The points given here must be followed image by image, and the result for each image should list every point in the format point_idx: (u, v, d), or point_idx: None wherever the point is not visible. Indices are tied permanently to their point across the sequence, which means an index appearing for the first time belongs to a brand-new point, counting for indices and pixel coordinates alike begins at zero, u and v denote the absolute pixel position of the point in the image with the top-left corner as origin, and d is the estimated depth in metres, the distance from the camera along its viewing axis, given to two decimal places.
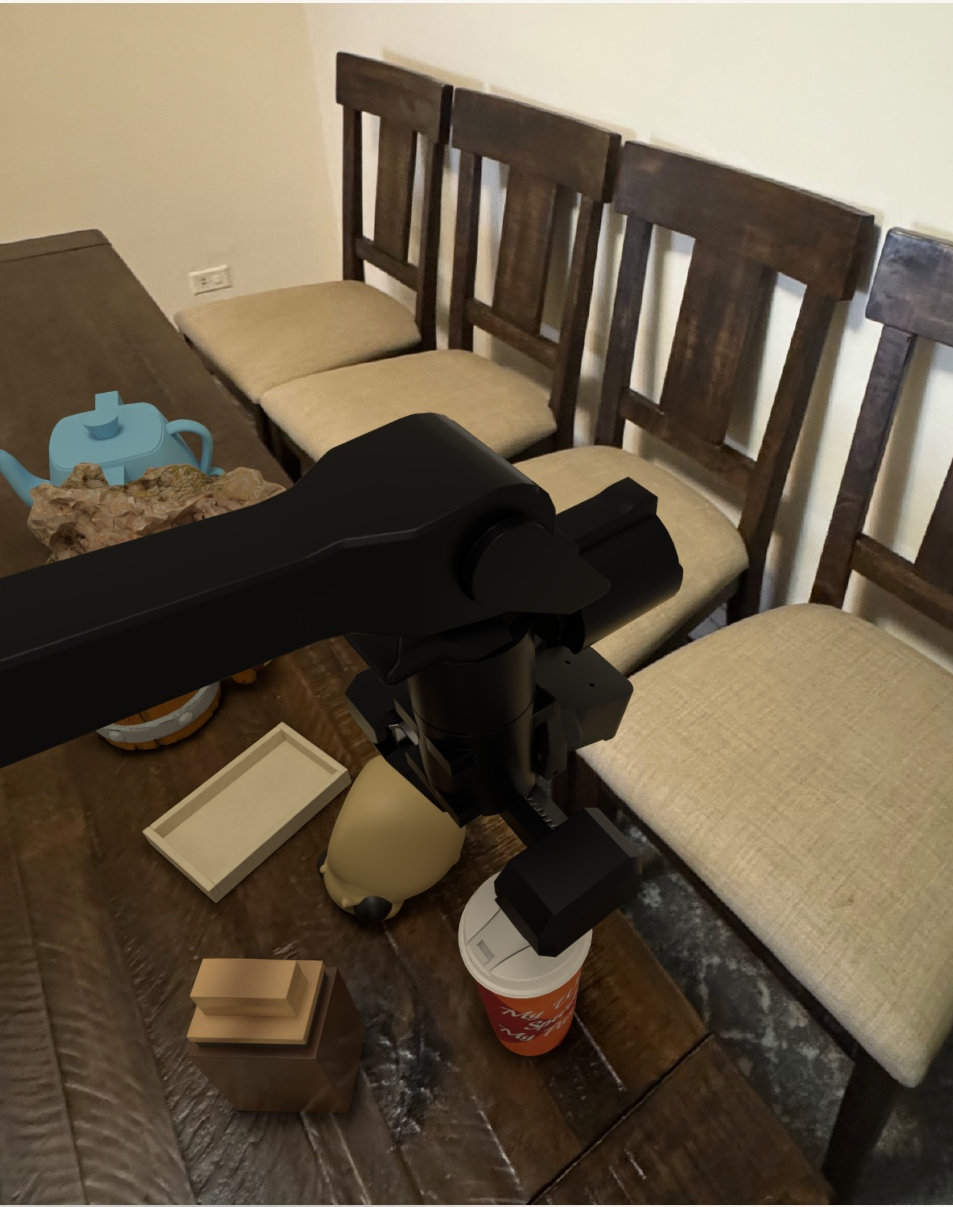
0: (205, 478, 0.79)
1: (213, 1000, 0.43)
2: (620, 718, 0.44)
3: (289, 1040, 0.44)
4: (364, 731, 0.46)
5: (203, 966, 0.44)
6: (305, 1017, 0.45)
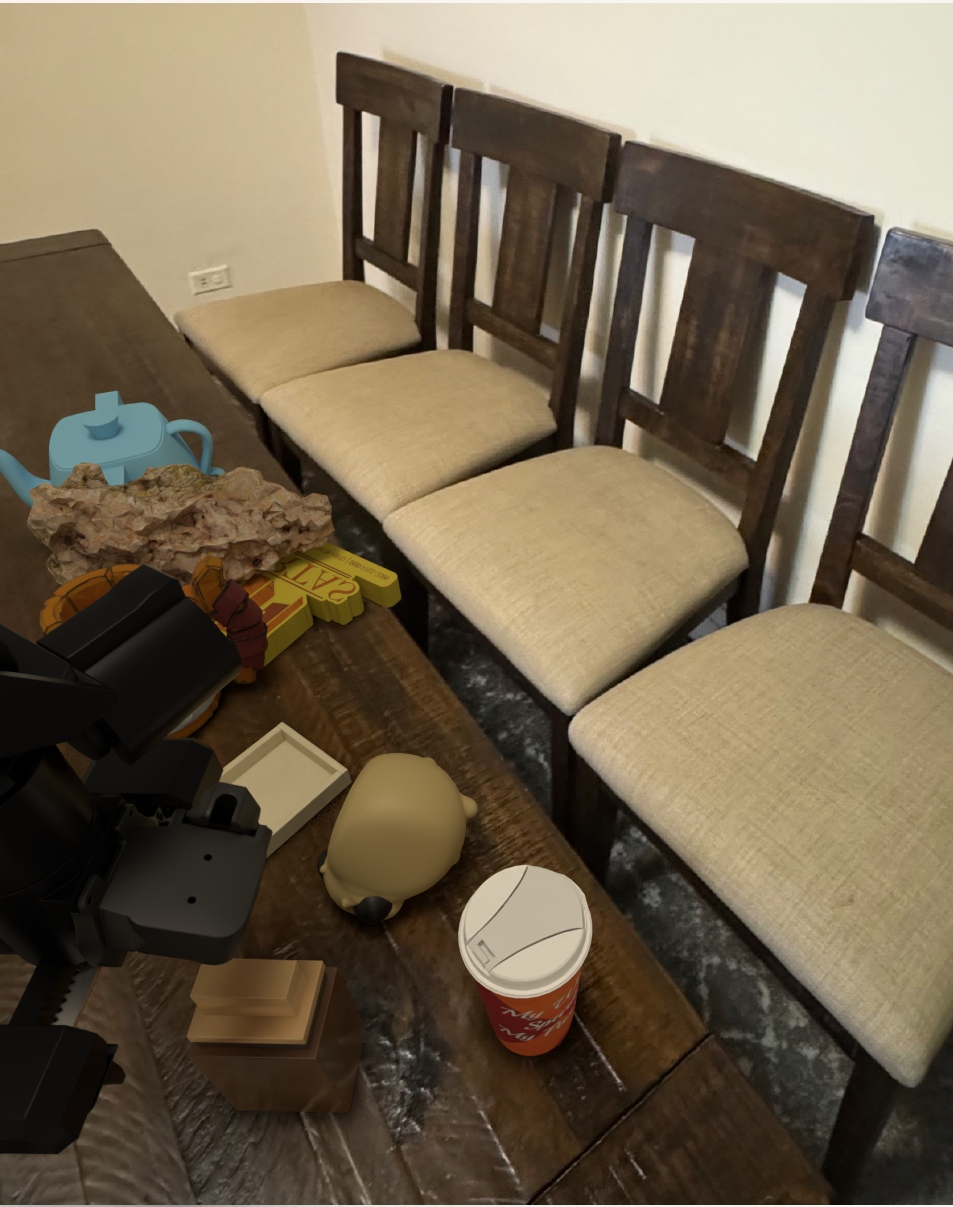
0: (205, 478, 0.79)
1: (213, 1000, 0.43)
2: (216, 952, 0.36)
3: (289, 1040, 0.44)
4: None
5: (203, 966, 0.44)
6: (305, 1017, 0.45)
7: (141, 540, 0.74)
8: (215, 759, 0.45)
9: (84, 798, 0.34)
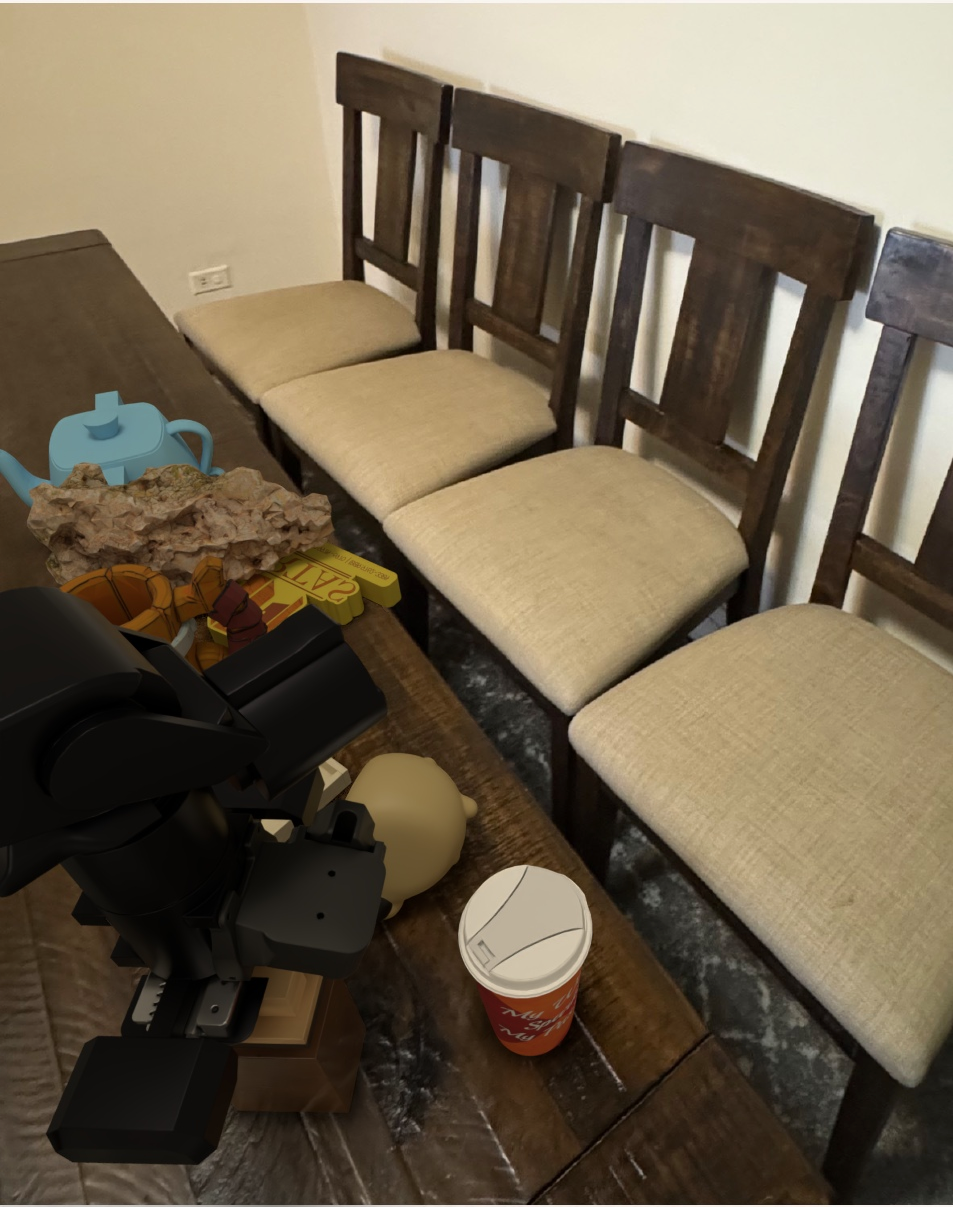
0: (205, 478, 0.79)
1: None
2: (342, 967, 0.37)
3: (289, 1040, 0.44)
4: None
5: None
6: (305, 1017, 0.45)
7: (141, 540, 0.74)
8: (319, 774, 0.45)
9: (222, 828, 0.34)
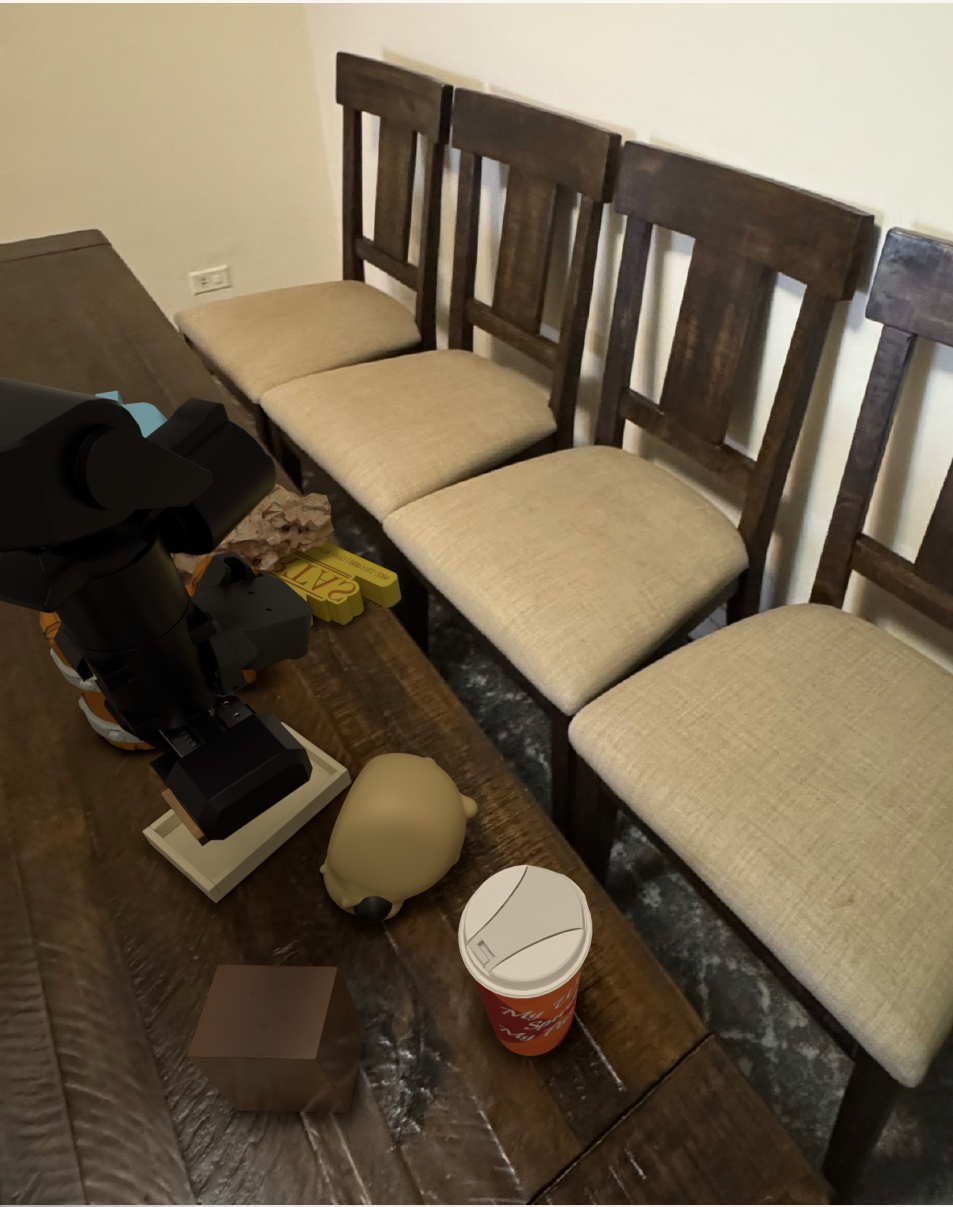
0: None
1: None
2: (303, 638, 0.49)
3: None
4: (76, 672, 0.50)
5: None
6: None
7: None
8: None
9: None
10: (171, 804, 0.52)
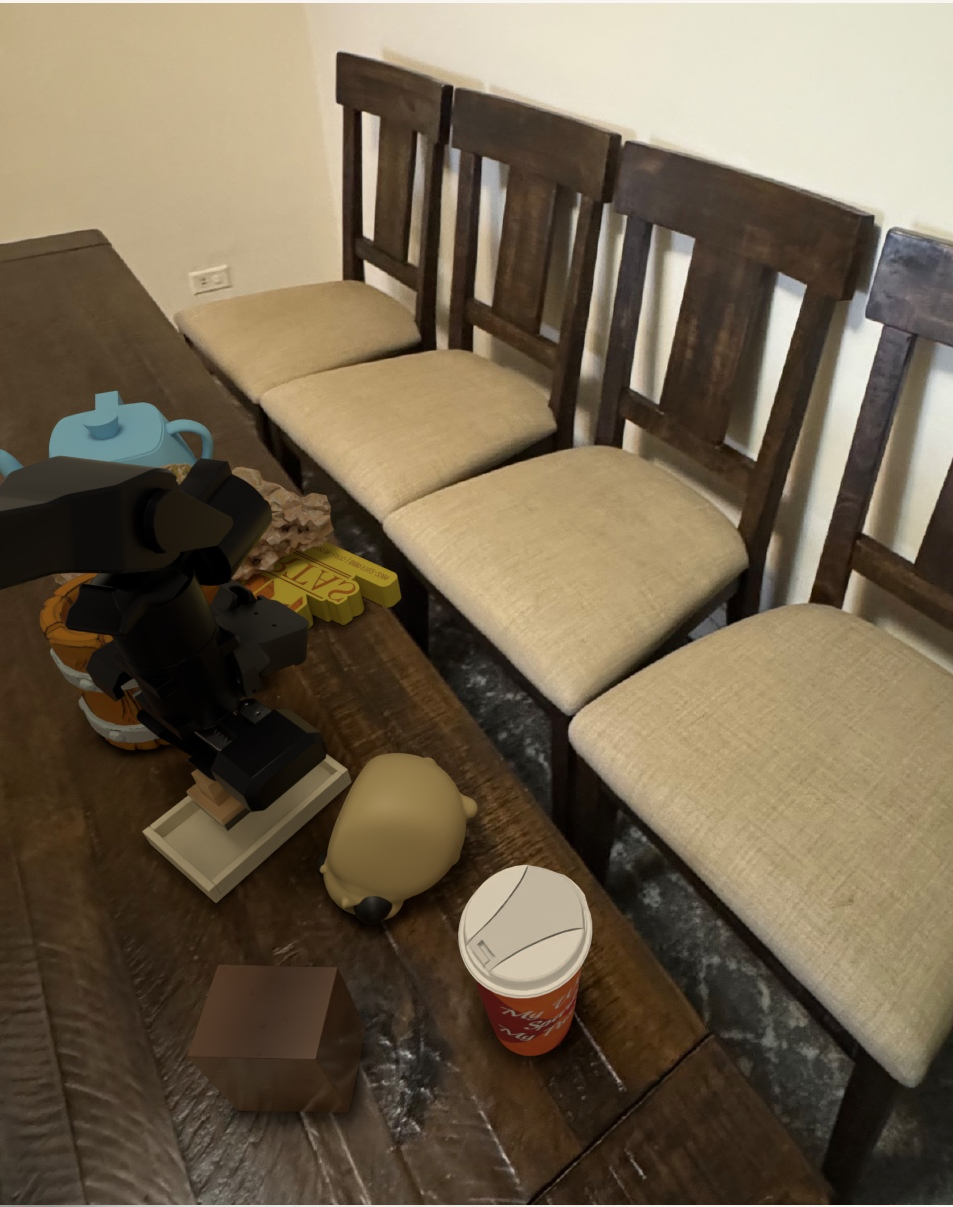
0: None
1: None
2: (303, 646, 0.60)
3: None
4: (108, 695, 0.59)
5: (196, 774, 0.61)
6: None
7: None
8: None
9: None
10: (197, 799, 0.62)
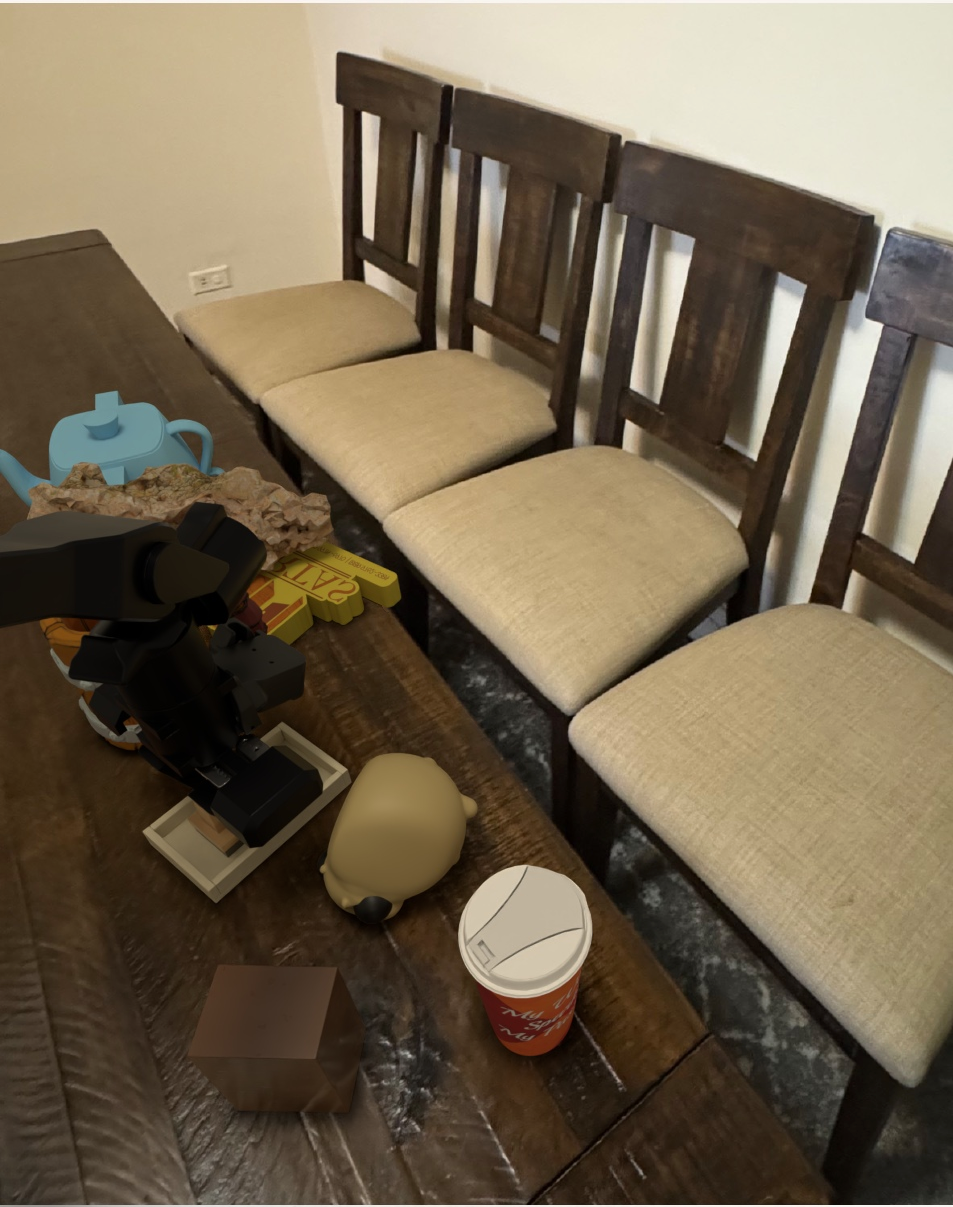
0: (204, 478, 0.79)
1: None
2: (301, 682, 0.61)
3: None
4: None
5: None
6: None
7: None
8: None
9: None
10: (198, 826, 0.63)
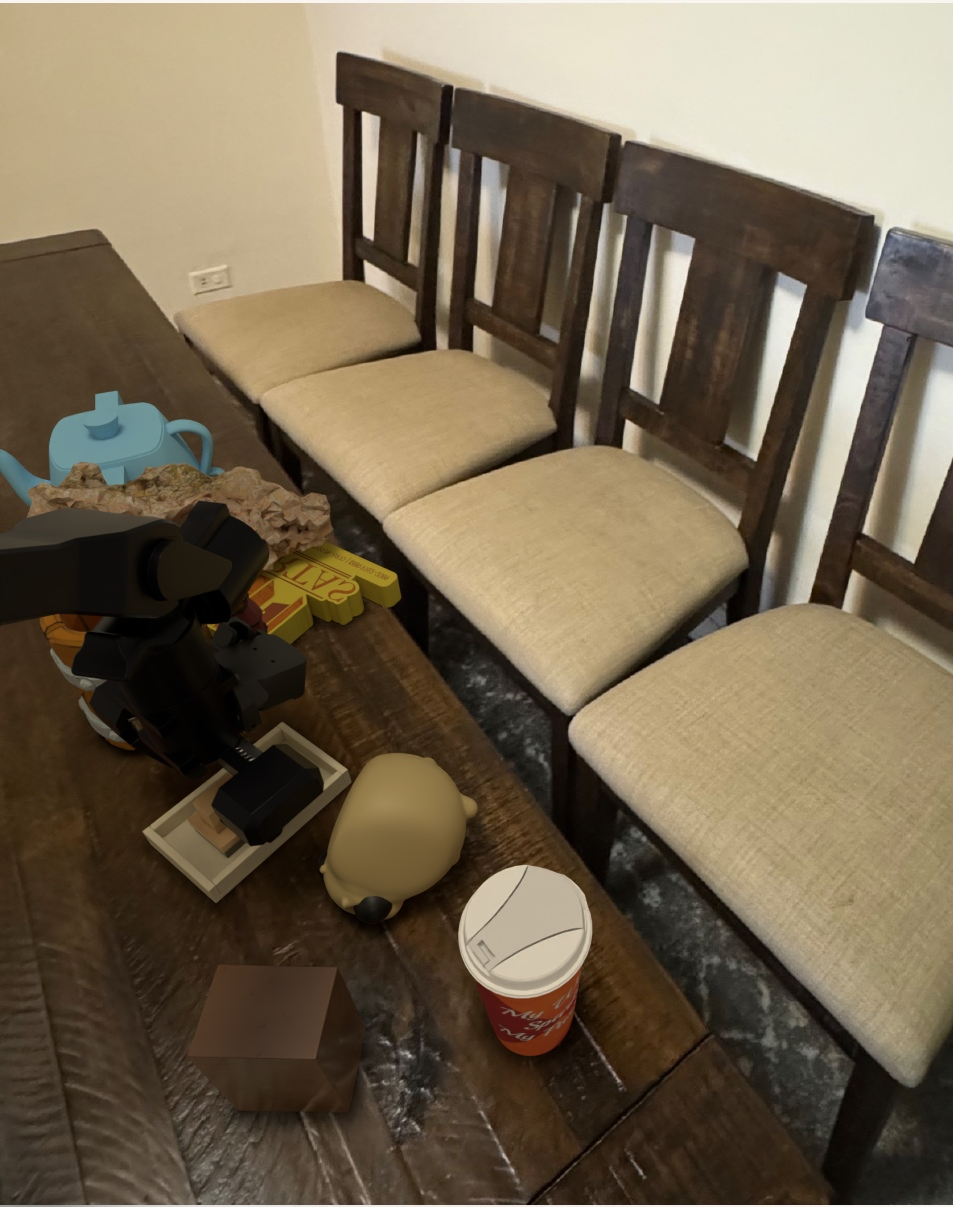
0: (203, 478, 0.79)
1: None
2: (302, 681, 0.61)
3: None
4: (111, 728, 0.61)
5: (197, 803, 0.62)
6: None
7: None
8: None
9: None
10: (197, 827, 0.63)
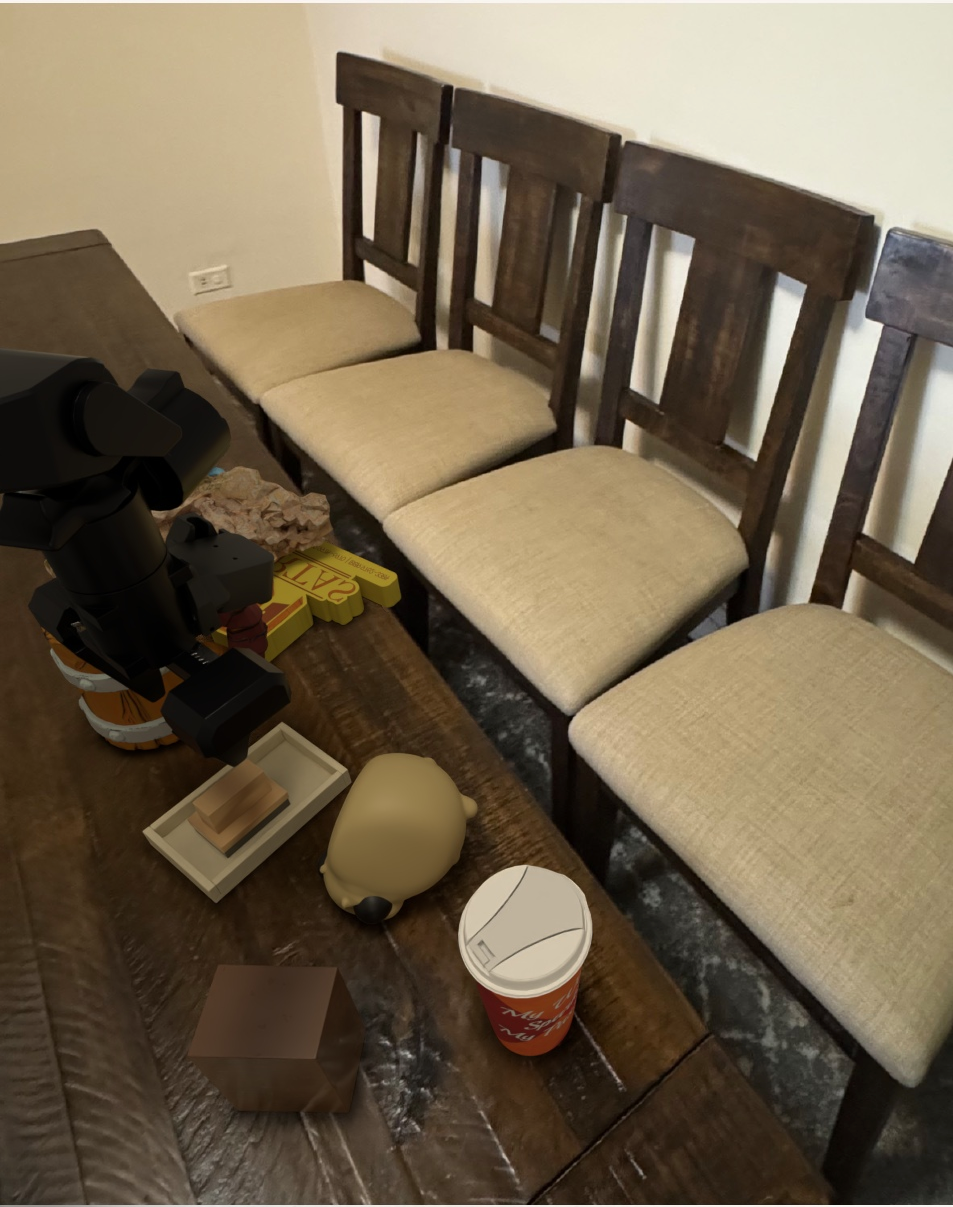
0: None
1: (222, 809, 0.62)
2: (268, 583, 0.54)
3: (280, 799, 0.66)
4: (53, 636, 0.54)
5: (197, 803, 0.62)
6: (276, 786, 0.66)
7: None
8: None
9: None
10: (197, 827, 0.63)
